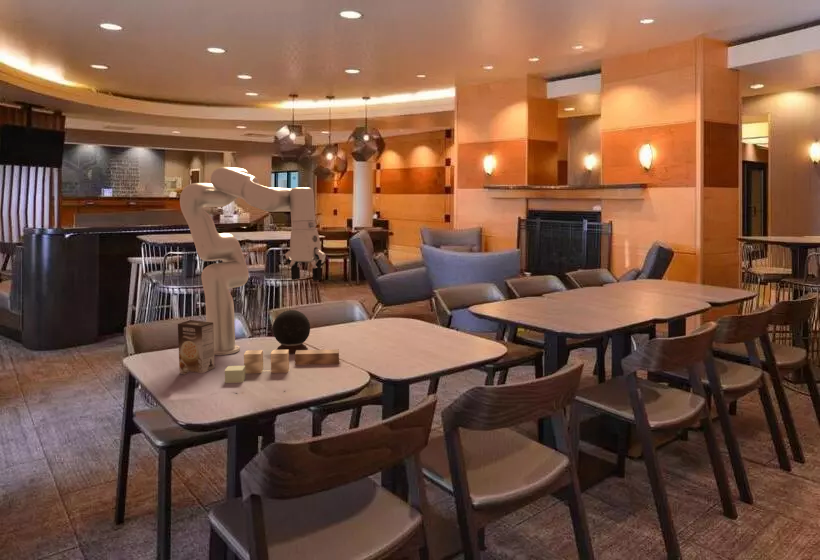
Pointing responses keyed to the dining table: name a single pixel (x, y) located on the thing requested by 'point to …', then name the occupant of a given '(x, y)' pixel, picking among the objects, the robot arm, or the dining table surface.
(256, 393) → the dining table surface
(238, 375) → the cube
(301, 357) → the plank
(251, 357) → the block
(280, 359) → the block
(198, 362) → the coffee box
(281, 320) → the black ball on stand
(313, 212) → the robot arm
